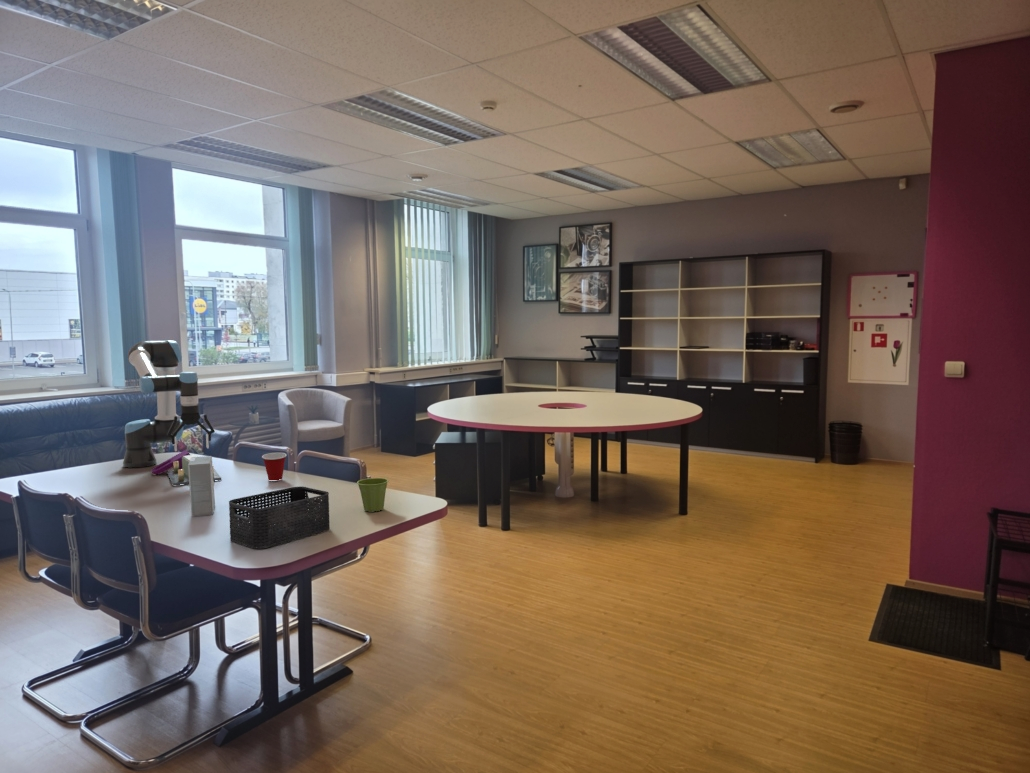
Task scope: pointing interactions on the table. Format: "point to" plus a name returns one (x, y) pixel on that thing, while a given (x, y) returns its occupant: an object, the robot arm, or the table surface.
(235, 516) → the storage bin
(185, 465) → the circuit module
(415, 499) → the table surface
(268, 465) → the plastic cup
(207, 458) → the hard drive box
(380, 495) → the plant pot
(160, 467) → the mounting bracket
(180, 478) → the chassis plate
